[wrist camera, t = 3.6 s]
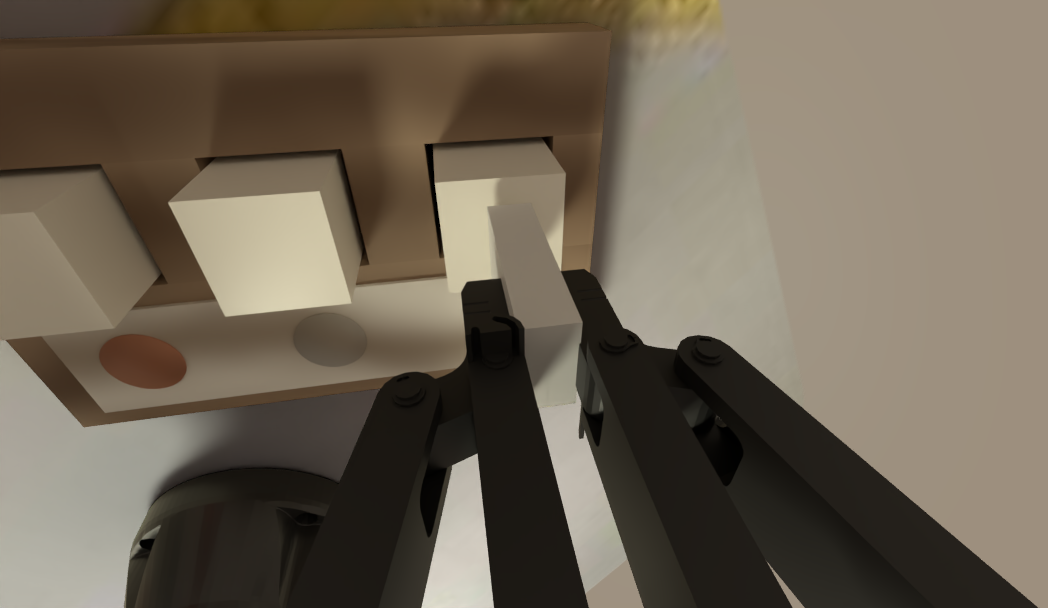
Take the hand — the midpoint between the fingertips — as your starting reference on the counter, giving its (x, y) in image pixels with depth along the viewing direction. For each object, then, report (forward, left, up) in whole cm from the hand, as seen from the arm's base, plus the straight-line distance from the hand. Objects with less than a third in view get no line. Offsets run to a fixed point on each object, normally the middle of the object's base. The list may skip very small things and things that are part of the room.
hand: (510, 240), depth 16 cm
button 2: (0, +16, -5) cm, 17 cm away
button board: (-2, +8, -7) cm, 11 cm away
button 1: (0, 0, -5) cm, 5 cm away
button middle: (0, +8, -5) cm, 9 cm away
